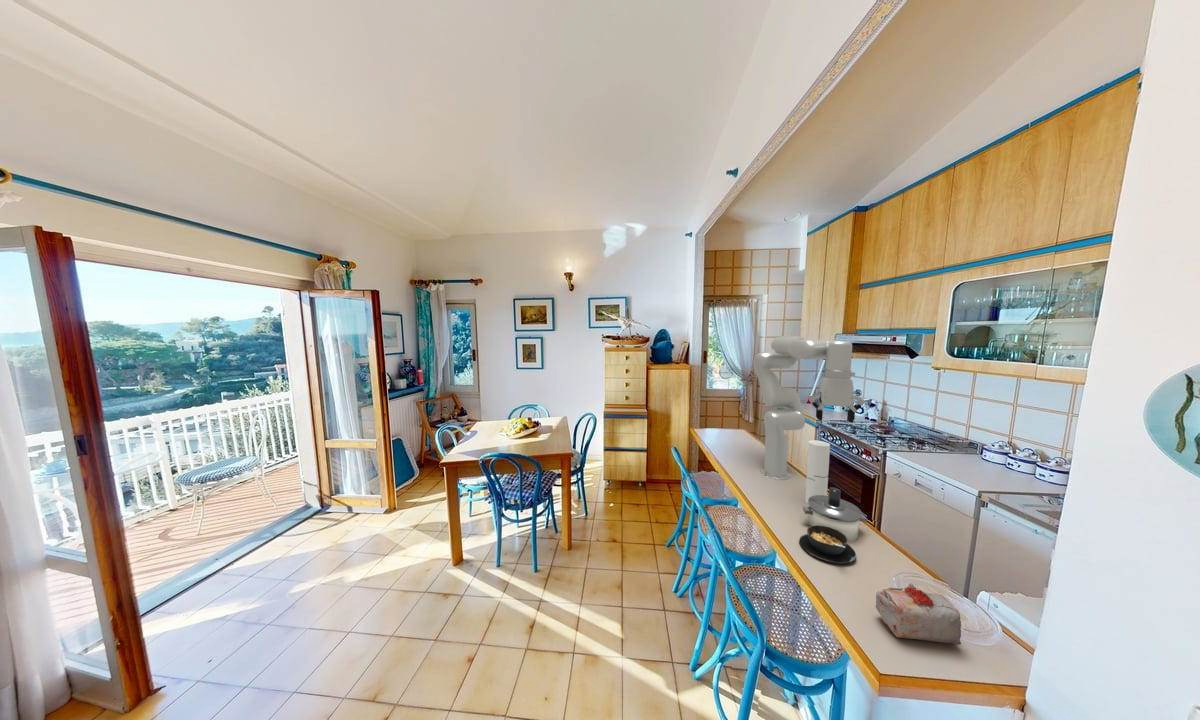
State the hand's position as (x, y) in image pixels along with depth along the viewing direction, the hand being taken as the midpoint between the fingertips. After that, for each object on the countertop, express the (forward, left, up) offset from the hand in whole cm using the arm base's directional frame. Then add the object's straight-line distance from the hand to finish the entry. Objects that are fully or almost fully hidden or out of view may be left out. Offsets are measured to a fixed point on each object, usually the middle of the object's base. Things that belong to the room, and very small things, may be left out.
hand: (834, 420), depth 122 cm
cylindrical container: (-8, -2, -36) cm, 37 cm away
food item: (+50, +1, -37) cm, 62 cm away
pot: (+10, -2, -36) cm, 38 cm away
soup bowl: (+24, -8, -37) cm, 45 cm away
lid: (+10, -2, -29) cm, 31 cm away
